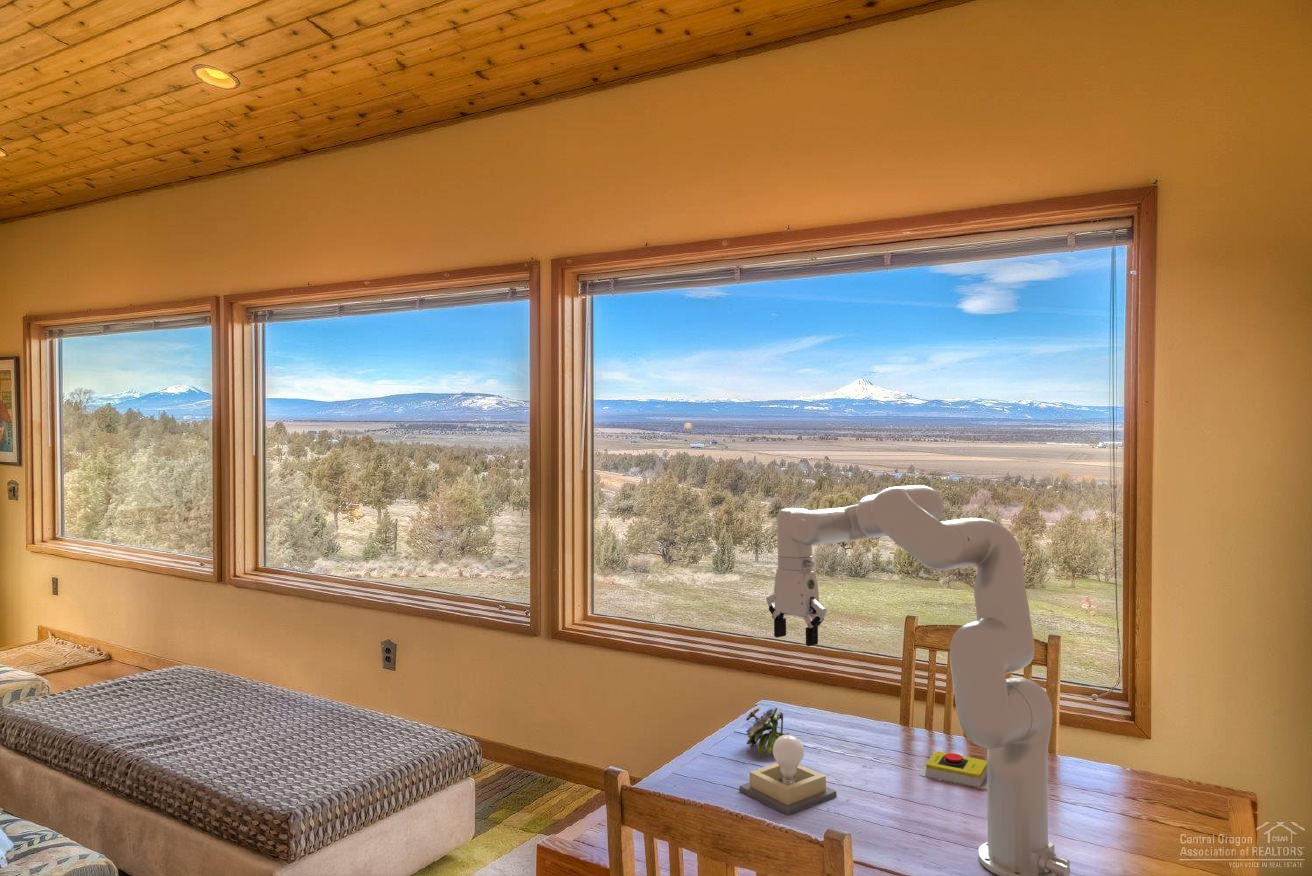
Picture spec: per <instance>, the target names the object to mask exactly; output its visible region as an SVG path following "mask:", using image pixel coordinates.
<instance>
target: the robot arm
mask: <svg viewBox="0 0 1312 876" xmlns="http://www.w3.org/2000/svg"><path fill="white" fill-rule="evenodd" d="M944 505H945V504H944V501H943V498H942V497H941V495H940V494H939V493H938V492H937V491H936V490H935V489H934V488H931V487H929V486H926V485H919V484H918V485H916V484H914V485H905V486H904V485H902V486H892V487H888V488H885V489H883V490H881V491H880V492H878V493H876V494H869V495H866V496H864V497H862V498H861V499H860V500H859V502H858V504H853V505H848V506H843V507H834V508H833V507H831V508H821V509H811V510H809V509H808V508H803V507H786V508H782V509H780V510H779V511H778V513H777V517H776V518H777V568H776V572H775V578H774V588H773V590H774V591H773V594H771V595H769V596H767V597H766V602H767V606H768V611H769V612H770V614H771V618H772V620H773V632H774V633H773V634H774V635H773V636H774V637H773V638H775V639H776V638H783V637H785V636H787V618H786V617H785V616H786V615H788V616H793V617H795V618H801V619H802V618H803V621H804V622H805V624H806V626H807V627H806V628H805V645H806V646H807V647H812V646H815V645H816V646H817V645H818V643H819V627H821V624H822V623H823V622H824V620H825V616H826V614H827V612H828V610H827V608H825V607H824V606H823V605H822V604H821V603H820V596H819V594H820V593H819V585H818V579H817V575H816V572H815V570H813V568H814V566H815V562H814V561H813V546H822V545H830V544H835V543H836V544H837V543H845V542H851V541H856V540H862V539H867V538H872V539H876V538H883V537H889V538H890V539H891V540H892V541H893V542H894V543H896V544H897V545H899V546H900V547H901V548H902V549H903V550H905V551H906V552H907V553H909V554H910V555H911V556H912V557H913V558H915V559H916V560H917V561H918V562H920V563H921V564H923V565H924V566H926V567H928V568H930V569H933V570H937V571H949V570H955V569H960V568H965V567H966V568H967V567H970V566H974V567H976V568H977V573H976V575H975V576H976V577H975V581H974V587H973V596H974V597H973V598H974V602H975V609H976V610H975V611H976V620H974V621H970V622H967V623H965V624H964V625H962V626H961V627H959V628H958V629H956V631H955V632H954V634H953V636H952V638H951V641H950V645H949V646H950V647H949V662H950V663H949V664H950V672H951V680H952V686H953V693H954V702H955V707H956V714H957V718H958V721H959V724H960V727H961V729H962V731H963V733H964V734H965V736H966V737H967V738H968V740H969V741H970V742H972V743H973V744H974V745H976V746H978V747H980V748H983V749H987V751H986V752H987V753H986V756H987V757H986V761H987V790H986V794H987V796H986V797H987V799H986V800H987V801H986V802H987V804H986V805H987V807H986V808H987V841H986V842H984V843H983V844H981V845H980V846H979V848H978V850H977V854H978V855H977V857H978V858H977V859H978V860H979V862H980V863H981V865H982V866H983V867H985V869H986V870H988V871H989V872H990V873H992V874H994V875H997V876H1070V874H1071V868H1070V867H1071V861H1070V860H1068V859H1066V858H1064V857H1062V856H1061V857H1060V856H1058V855H1057V853H1055V844H1054V843H1052V842H1050V841H1049V819H1048V818H1049V817H1048V815H1049V813H1048V812H1049V810H1048V809H1049V808H1048V807H1049V806H1048V805H1049V804H1048V799H1049V798H1048V794H1049V793H1048V776H1049V775H1048V758H1049V752H1048V751H1049V744H1050V737H1051V732H1052V731H1051V730H1052V725H1053V708H1052V707H1053V705H1052V703H1051V699H1050V697H1049V695H1048V694H1047V692H1046V691H1045V689H1044V688H1043V687H1042V686H1041V685H1040V684H1039V683H1037V682H1035V681H1033V680H1031V679H1029V678H1025V677H1009V678H1006V675H1008V674H1012V673H1014V672H1017V671H1020V670H1022V669H1024V668H1026V667H1027V666H1029V665H1030V664H1031V663H1032V661H1033V660H1034V658H1035V652H1036V648H1035V639H1034V633H1033V632H1034V631H1033V627H1032V620H1031V612H1030V608H1029V600H1028V595H1027V589H1026V582H1025V581H1026V579H1025V569H1024V559H1023V553H1022V551H1021V547H1020V544H1019V542H1018V541H1017V540H1016V538H1015V536H1014V535H1013V534H1012V533H1011V532H1010V530H1009V529H1007V528H1006V527H1004V526H1003V525H1002V524H1000V523H998V522H996V521H993V520H990V519H986V518H980V517H968V518H957V519H951V520H942V521H940V520H941V518H942V517H943V515H944V510H945V506H944Z"/></svg>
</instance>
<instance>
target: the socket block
mask: <svg viewBox="0 0 1312 876" xmlns="http://www.w3.org/2000/svg"><path fill="white" fill-rule="evenodd" d="M739 791H740V792H742V793H743V794H746V795H747V796H749V797H751V798H754V799H755V800H757V801H759V802H762V803H763V804H764V805H766V806H767V805H768V806H769V807H771V808H773V809H775V810H777V811H778V812H780V813H783V814H785V815H787V816H788V815H791V814H794V813H796V812H800V811H802V810H804V809H807V808H809V807H812V806H815V805H817V804H819V803H822V802H825V801H827V800H830V799H833V798H834V797H837V790H836V789H833V788H830V787H829V786H827V776H826V775H824V774H822V773H820V772H817V771H815V770H814V769H812V768H811V769H810V768H808V767H805V766H804V765H801V764H799V765H798V767H797V771H796V774H795V783H793V784H790V785H786V784H783V783H782V773H781V771H780V767H779V764H778V763H777V762H775V763H773V764H769V765H767V766H766V765H765V766H763V767H760V768H757V769H755V770H751V771H749V782H746V783H744V784H741V785H739Z"/></svg>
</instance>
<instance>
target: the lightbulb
mask: <svg viewBox="0 0 1312 876" xmlns="http://www.w3.org/2000/svg"><path fill="white" fill-rule="evenodd" d="M804 749H805V748H804V745H803V743H802V742H801V740H800V739H799V738H798V737H796V736H795V735H793V734H789V735H782V736H780V737H779V738H777V740H776V741H775V742H774V745H773V752H772V755H773V757H774V761H776V763H778V764H779V767H780V771H781V773H782V783H783V784H786V785H790V784H793V783H795V774H796V771H797V767H798V765H801V764H800V763H801V762H802V760H803V759H804V755H805V750H804Z"/></svg>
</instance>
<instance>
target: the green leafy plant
mask: <svg viewBox="0 0 1312 876" xmlns="http://www.w3.org/2000/svg"><path fill="white" fill-rule="evenodd" d="M759 711H760V708H759V707H758V708H755V709H754V710H753V711H750V713H749V715H748V716H747V717H746V720H745V721H749V720H750V719H752V718H754V719H755V722H753V725H751V726H750V727H749V728H748V729H747V730H746V731H745V732H746V736H748V737H747V738H749V739H748V740H747V741H746V745H748V746H749V745H751V746H755V745H756V744H757V743H758V744H757V745H758V746H757V754H758V755H759V756H760V758H763V757H764V756H763V755H764V751H765V754H766V756H769V755H771V754H773V745H774V742H775V741H776V740H777V738H779V737H780V736H782V735H790V733H787V732H786V733H784V732H783V727H784V725H783V724H784V714H783V713H782V711H781V710H779V712H778V713H777V711H778V707H774V709H772V708H771V709H769V710H767V711H766V712H764V713H763V715H760V717H757V716H756V714H757V713H758V712H759ZM776 713H777V715H776ZM779 720H781V723H780V732H778V730H777V728H778V725H779V722H778V721H779ZM766 731H768V732H766ZM764 732H765V733H764Z"/></svg>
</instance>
